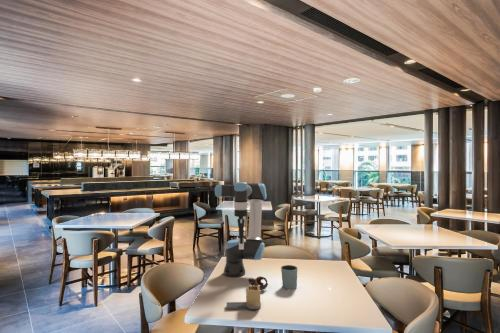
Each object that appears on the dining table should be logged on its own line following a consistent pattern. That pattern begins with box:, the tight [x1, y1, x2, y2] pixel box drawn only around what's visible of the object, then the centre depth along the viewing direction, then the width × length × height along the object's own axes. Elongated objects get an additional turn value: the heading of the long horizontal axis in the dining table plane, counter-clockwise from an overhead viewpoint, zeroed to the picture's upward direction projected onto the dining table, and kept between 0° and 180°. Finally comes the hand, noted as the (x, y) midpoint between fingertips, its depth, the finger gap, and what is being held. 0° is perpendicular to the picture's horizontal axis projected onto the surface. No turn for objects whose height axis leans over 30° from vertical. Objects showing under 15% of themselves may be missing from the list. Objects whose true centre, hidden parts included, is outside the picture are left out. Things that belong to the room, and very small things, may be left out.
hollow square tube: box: [245, 285, 261, 307], centre depth 157 cm, size 7×7×8 cm
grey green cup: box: [280, 264, 298, 291], centre depth 184 cm, size 10×10×12 cm
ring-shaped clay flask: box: [248, 276, 269, 291], centre depth 181 cm, size 12×10×8 cm
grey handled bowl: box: [226, 301, 262, 312], centre depth 157 cm, size 8×18×7 cm, turn 93°
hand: (241, 246), depth 171 cm, fingers open, 13 cm apart
